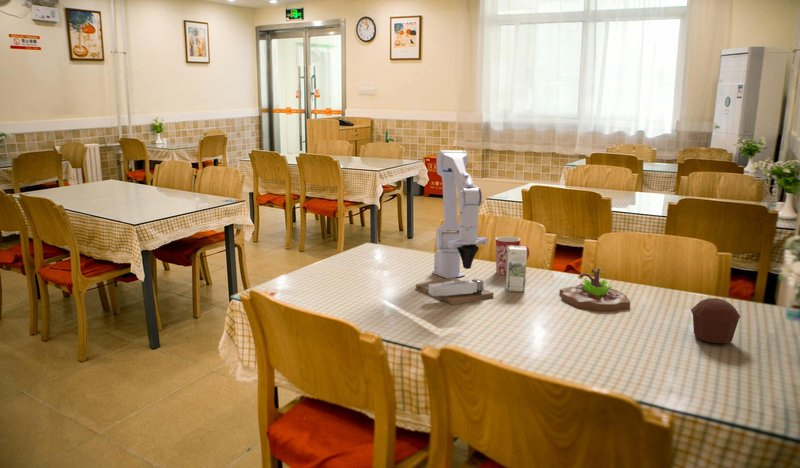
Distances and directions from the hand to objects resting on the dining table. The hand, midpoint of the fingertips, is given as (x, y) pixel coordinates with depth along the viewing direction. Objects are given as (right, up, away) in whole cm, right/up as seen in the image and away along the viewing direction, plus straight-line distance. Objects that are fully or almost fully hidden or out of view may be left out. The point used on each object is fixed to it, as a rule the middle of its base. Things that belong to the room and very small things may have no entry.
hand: (466, 268), depth 185 cm
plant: (+40, -11, -3) cm, 41 cm away
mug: (+19, -5, +24) cm, 31 cm away
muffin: (+60, -16, -34) cm, 71 cm away
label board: (-4, -8, +2) cm, 9 cm away
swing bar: (-4, -7, -6) cm, 10 cm away
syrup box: (+17, -8, +7) cm, 20 cm away
